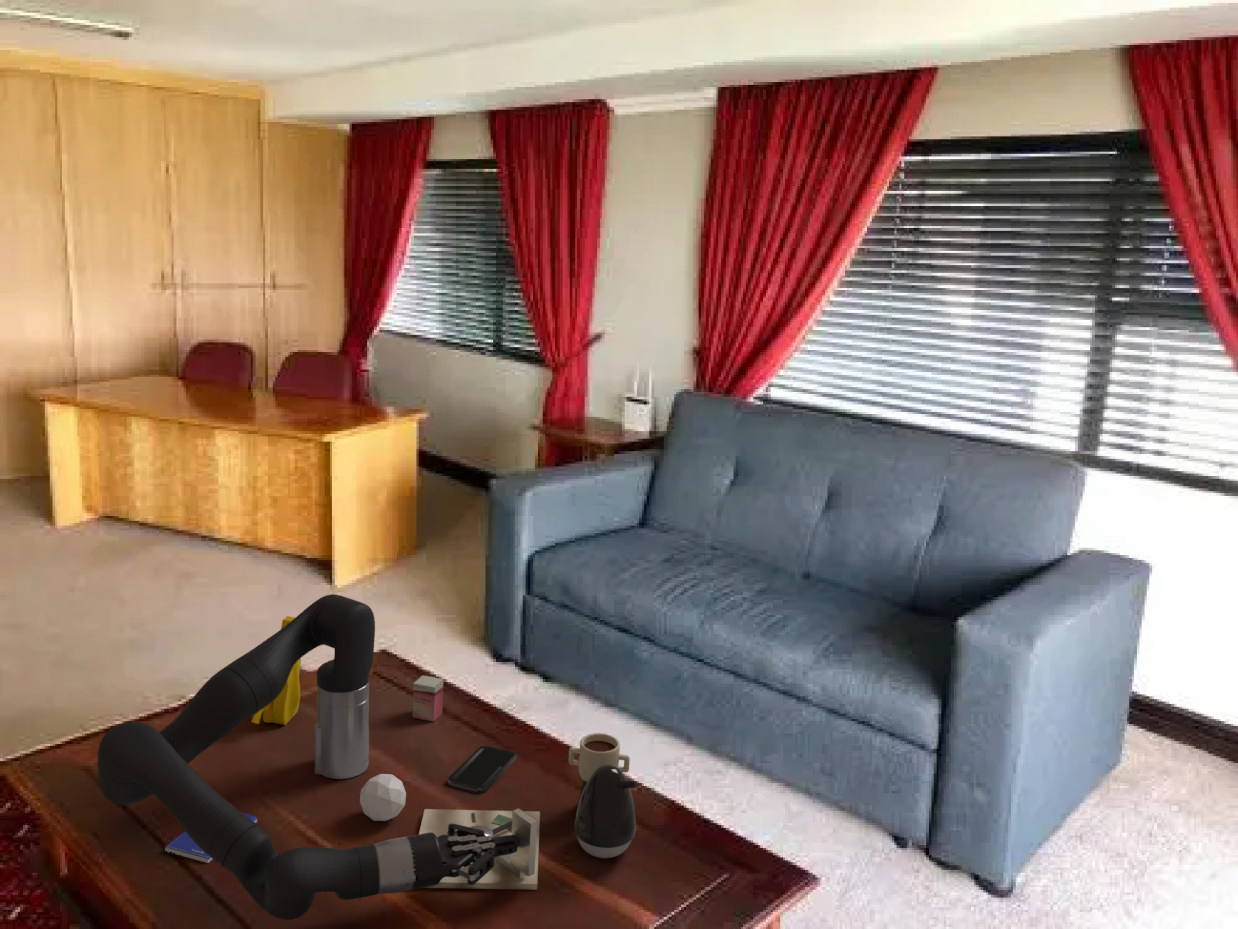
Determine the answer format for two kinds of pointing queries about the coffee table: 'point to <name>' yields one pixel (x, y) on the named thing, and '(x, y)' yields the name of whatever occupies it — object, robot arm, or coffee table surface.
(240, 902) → the coffee table surface
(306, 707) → the coffee table surface
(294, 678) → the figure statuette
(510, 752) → the phone
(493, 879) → the dial board
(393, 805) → the geometric ball
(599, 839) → the pump dispenser
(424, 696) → the small box
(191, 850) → the hard drive
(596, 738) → the character mug
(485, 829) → the key
